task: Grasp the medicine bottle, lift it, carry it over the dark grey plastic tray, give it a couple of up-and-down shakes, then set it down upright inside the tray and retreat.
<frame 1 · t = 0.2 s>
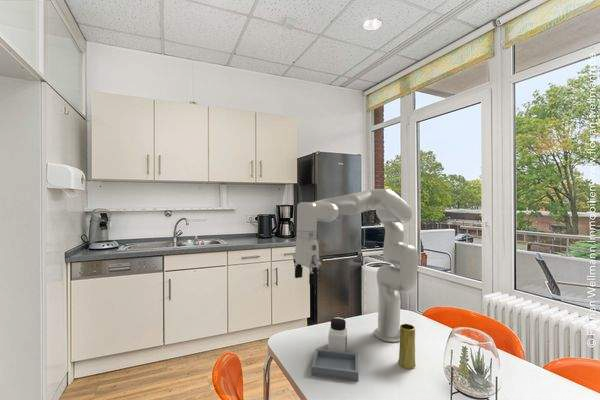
hand: (305, 280, 108), 31 cm above the table, tool pointing down, fingers open, 9 cm apart
vase: (406, 364, 108), on the table
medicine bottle: (337, 348, 119), on the table
tray: (335, 368, 105), on the table
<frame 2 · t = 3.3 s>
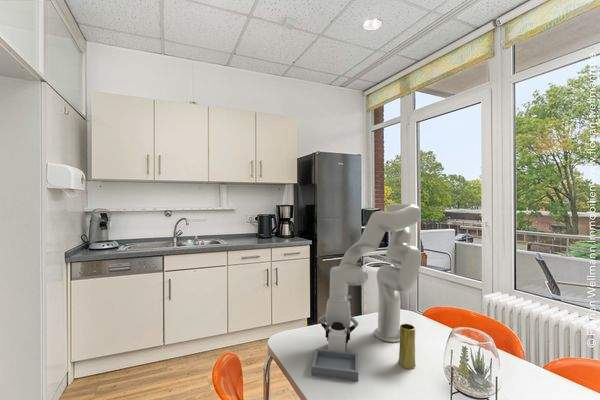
hand: (337, 340, 119), 3 cm above the table, tool pointing down, fingers closed on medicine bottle, 7 cm apart
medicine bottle: (337, 348, 119), on the table, touching gripper
everything else where it was.
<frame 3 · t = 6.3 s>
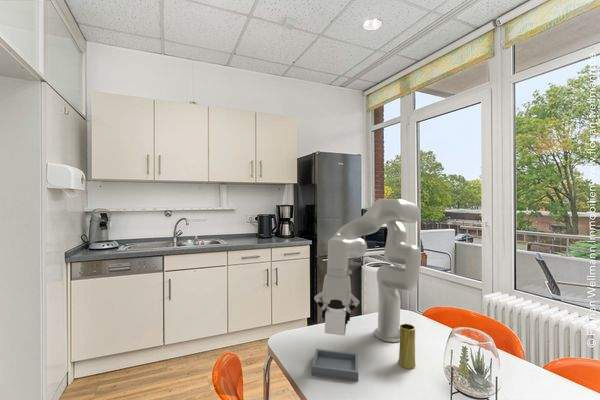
hand: (335, 321, 105), 17 cm above the table, tool pointing down, fingers closed on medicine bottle, 7 cm apart
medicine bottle: (335, 330, 105), point 14 cm above the table, touching gripper
everything else where it was.
when the fingers open (6 cm above the table, at t = 9.5 s): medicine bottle drops 1 cm, resting on tray.
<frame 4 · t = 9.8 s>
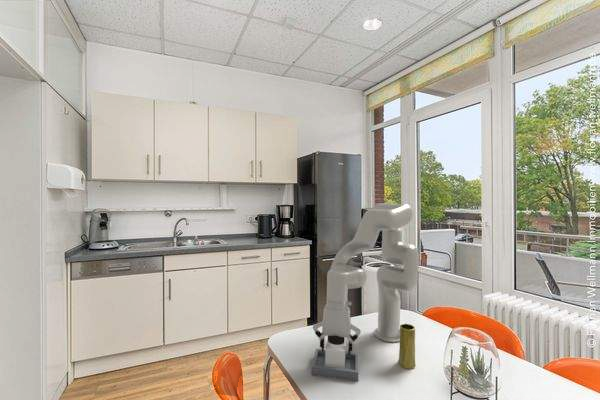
hand: (336, 350, 105), 6 cm above the table, tool pointing down, fingers open, 9 cm apart
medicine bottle: (335, 365, 105), point 1 cm above the table, touching tray
everything else where it was.
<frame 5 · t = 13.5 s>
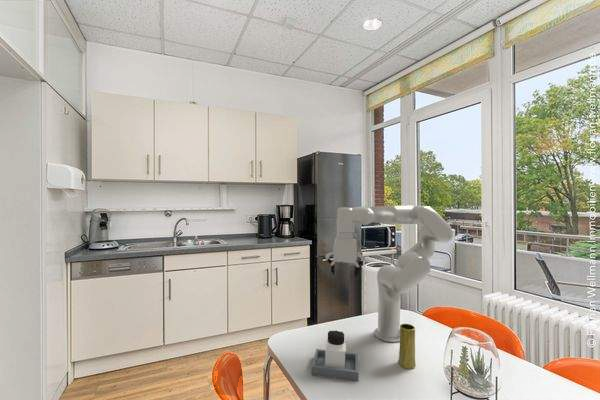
hand: (344, 274, 126), 28 cm above the table, tool pointing down, fingers open, 9 cm apart
nothing on the table moved.
at the end: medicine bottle inside the target area on the tray (0.2 cm from its centre), point 0.8 cm above the tray's base; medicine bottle tilted 0°; the gripper is holding nothing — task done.
